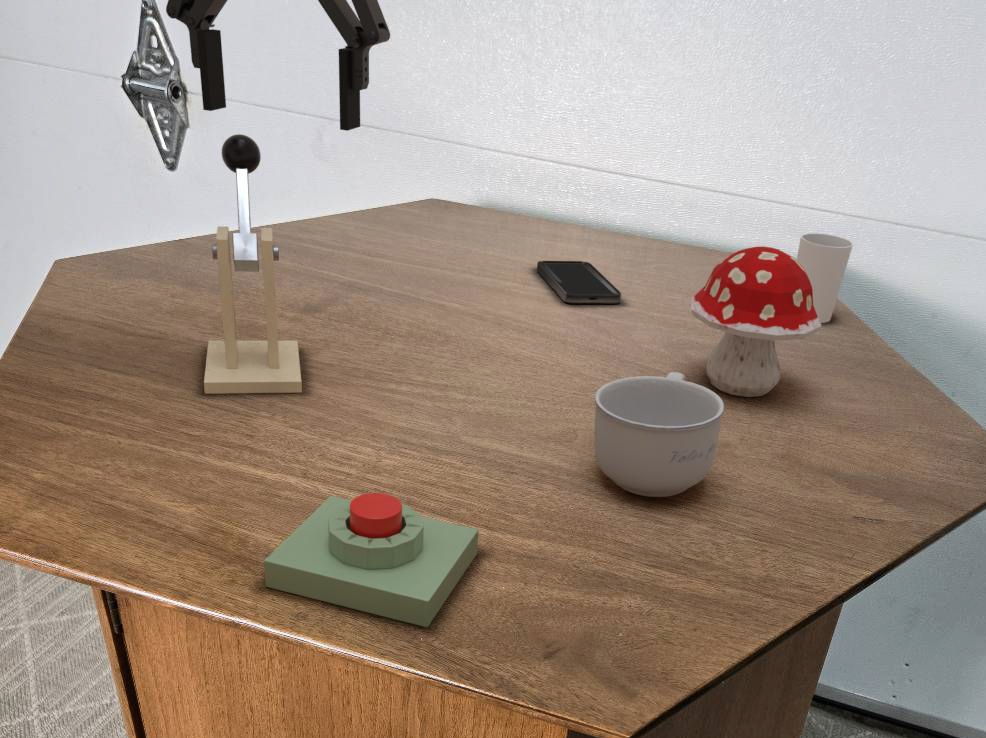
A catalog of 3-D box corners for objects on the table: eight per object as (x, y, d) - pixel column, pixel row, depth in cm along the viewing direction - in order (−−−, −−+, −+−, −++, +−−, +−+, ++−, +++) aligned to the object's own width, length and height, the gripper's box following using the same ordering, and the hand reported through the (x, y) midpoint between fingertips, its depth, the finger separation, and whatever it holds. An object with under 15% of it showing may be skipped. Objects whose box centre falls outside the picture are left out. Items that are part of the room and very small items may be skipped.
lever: (222, 146, 96) (219, 125, 92) (260, 148, 97) (259, 127, 93) (228, 274, 94) (225, 257, 90) (266, 274, 95) (265, 258, 91)
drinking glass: (824, 327, 127) (843, 250, 122) (776, 314, 130) (793, 238, 125) (841, 316, 132) (860, 241, 127) (794, 304, 135) (811, 230, 130)
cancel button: (341, 533, 68) (340, 511, 67) (363, 509, 71) (363, 488, 70) (389, 545, 67) (389, 523, 66) (409, 520, 70) (410, 499, 69)
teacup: (680, 524, 80) (697, 436, 76) (563, 485, 84) (573, 399, 80) (736, 463, 91) (753, 383, 87) (630, 430, 95) (642, 352, 91)
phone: (588, 261, 139) (623, 295, 127) (587, 269, 140) (622, 303, 128) (534, 260, 137) (565, 294, 125) (534, 268, 138) (564, 303, 126)
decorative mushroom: (650, 374, 108) (671, 236, 100) (736, 354, 116) (762, 225, 108) (743, 422, 99) (775, 275, 91) (830, 397, 107) (866, 260, 99)
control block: (265, 586, 68) (262, 537, 66) (331, 519, 76) (330, 474, 74) (427, 628, 65) (429, 578, 63) (477, 554, 74) (480, 508, 72)
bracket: (209, 351, 102) (196, 216, 95) (297, 351, 105) (292, 219, 97) (204, 394, 93) (190, 248, 86) (301, 392, 96) (295, 251, 88)
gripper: (102, -182, 78) (136, 105, 89) (395, -157, 74) (392, 142, 85) (157, -171, 84) (183, 96, 95) (430, -147, 80) (423, 130, 91)
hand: (281, 118), depth 90 cm, fingers open, 13 cm apart
